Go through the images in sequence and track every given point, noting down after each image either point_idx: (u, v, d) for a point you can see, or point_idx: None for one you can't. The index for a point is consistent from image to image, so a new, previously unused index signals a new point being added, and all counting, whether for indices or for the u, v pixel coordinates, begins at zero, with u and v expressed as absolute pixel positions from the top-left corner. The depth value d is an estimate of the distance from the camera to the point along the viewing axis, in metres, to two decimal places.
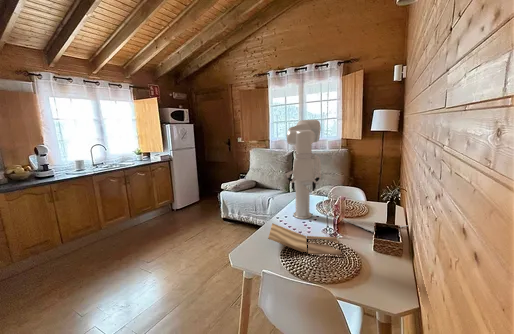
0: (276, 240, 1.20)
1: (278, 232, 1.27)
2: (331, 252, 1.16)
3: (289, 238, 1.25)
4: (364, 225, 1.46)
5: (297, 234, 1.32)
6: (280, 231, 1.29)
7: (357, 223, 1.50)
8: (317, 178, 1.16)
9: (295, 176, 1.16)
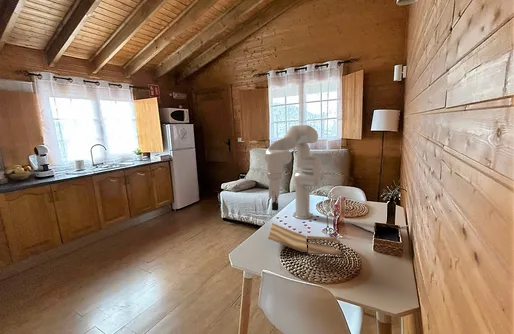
0: (276, 240, 1.20)
1: (278, 232, 1.27)
2: (331, 252, 1.16)
3: (289, 238, 1.25)
4: (364, 225, 1.46)
5: (297, 234, 1.32)
6: (280, 231, 1.29)
7: (357, 223, 1.50)
8: None
9: (278, 196, 1.20)
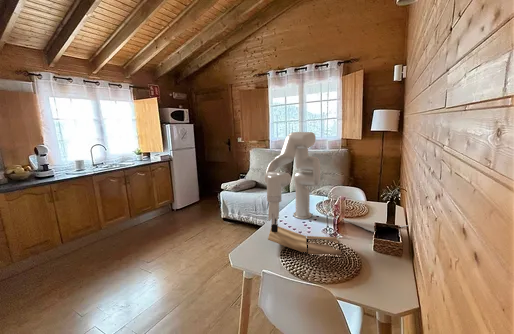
0: (276, 241, 1.20)
1: (277, 232, 1.27)
2: (331, 252, 1.16)
3: (288, 238, 1.25)
4: (364, 225, 1.46)
5: (297, 234, 1.32)
6: (280, 232, 1.29)
7: (357, 223, 1.50)
8: None
9: (277, 218, 1.22)
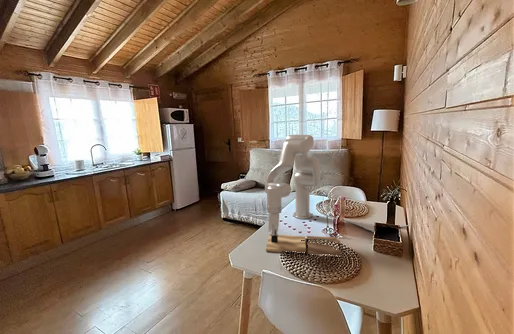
0: (274, 250, 1.21)
1: None
2: (331, 252, 1.16)
3: (287, 243, 1.26)
4: (364, 225, 1.46)
5: (295, 237, 1.32)
6: (278, 239, 1.30)
7: (357, 223, 1.50)
8: None
9: (277, 229, 1.22)
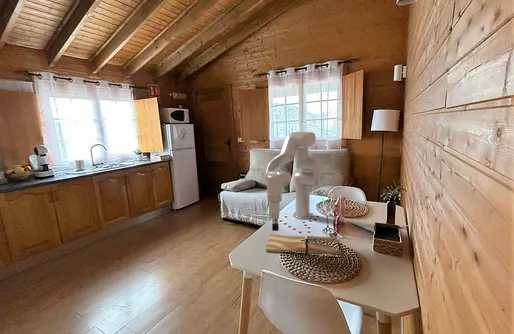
0: (274, 250, 1.21)
1: (275, 241, 1.28)
2: (331, 252, 1.16)
3: (287, 243, 1.26)
4: (364, 225, 1.46)
5: (295, 237, 1.32)
6: (278, 239, 1.30)
7: (357, 223, 1.50)
8: None
9: (278, 218, 1.22)
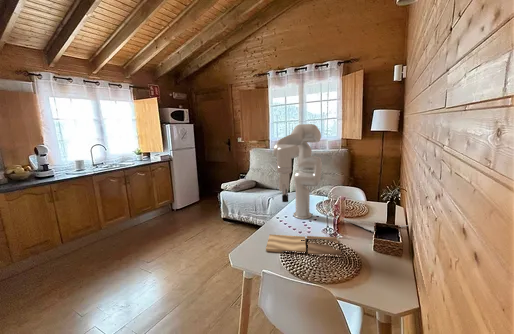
0: (274, 250, 1.21)
1: (275, 241, 1.28)
2: (331, 252, 1.16)
3: (287, 243, 1.26)
4: (364, 225, 1.46)
5: (295, 237, 1.32)
6: (278, 239, 1.30)
7: (357, 223, 1.50)
8: (286, 189, 1.33)
9: (288, 188, 1.26)
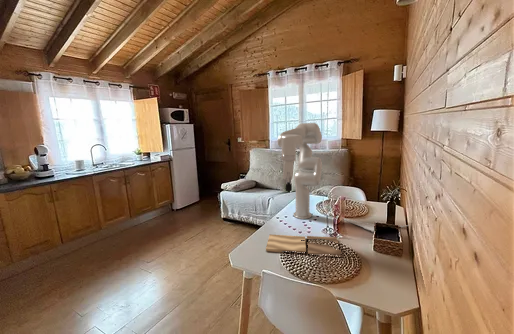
0: (274, 250, 1.21)
1: (275, 241, 1.28)
2: (331, 252, 1.16)
3: (287, 243, 1.26)
4: (364, 225, 1.46)
5: (295, 237, 1.32)
6: (278, 239, 1.30)
7: (357, 223, 1.50)
8: None
9: (292, 177, 1.28)
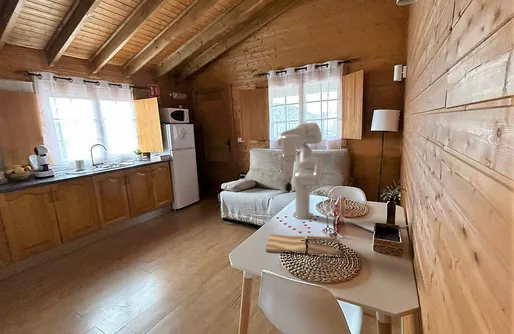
0: (274, 250, 1.21)
1: (275, 241, 1.28)
2: (331, 252, 1.16)
3: (287, 243, 1.26)
4: (364, 225, 1.46)
5: (295, 237, 1.32)
6: (278, 239, 1.30)
7: (358, 223, 1.50)
8: None
9: (292, 177, 1.28)
